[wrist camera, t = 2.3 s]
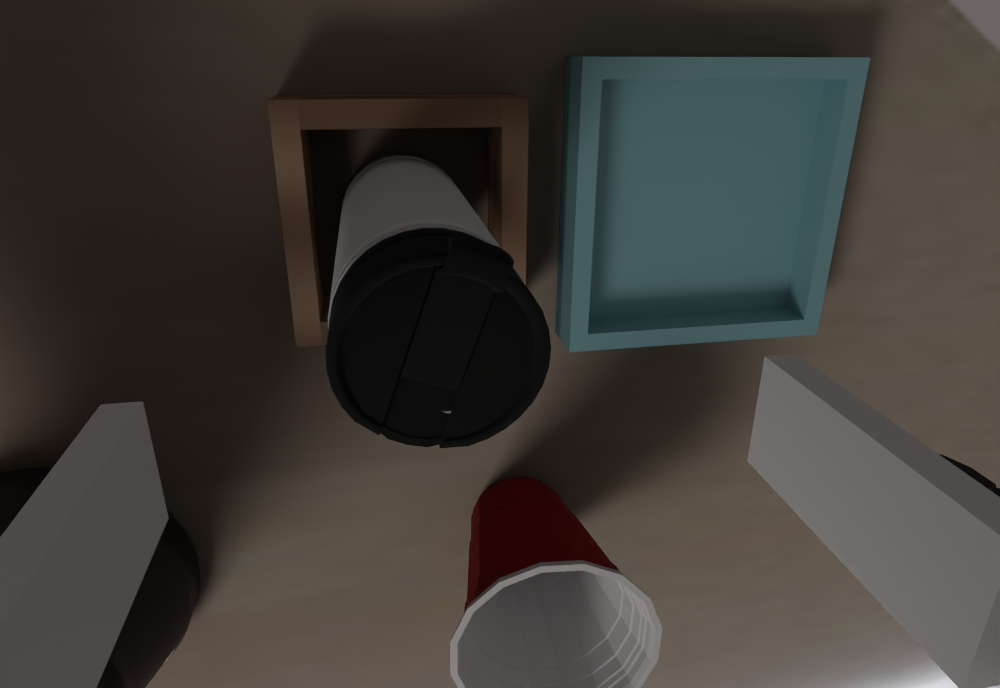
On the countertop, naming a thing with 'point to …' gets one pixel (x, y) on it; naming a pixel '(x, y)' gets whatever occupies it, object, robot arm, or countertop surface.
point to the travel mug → (428, 312)
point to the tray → (700, 196)
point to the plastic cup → (547, 601)
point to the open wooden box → (389, 112)
